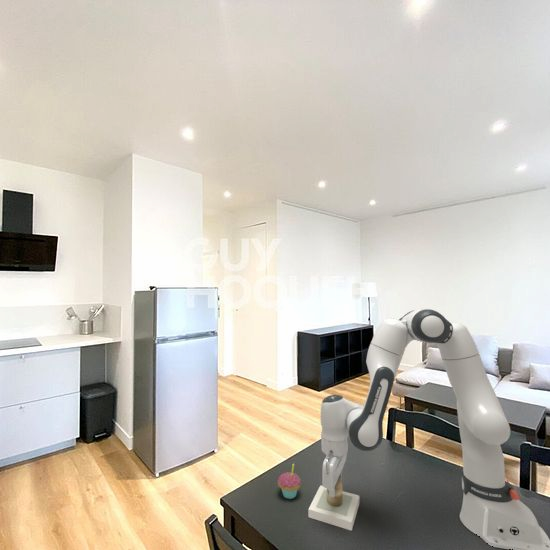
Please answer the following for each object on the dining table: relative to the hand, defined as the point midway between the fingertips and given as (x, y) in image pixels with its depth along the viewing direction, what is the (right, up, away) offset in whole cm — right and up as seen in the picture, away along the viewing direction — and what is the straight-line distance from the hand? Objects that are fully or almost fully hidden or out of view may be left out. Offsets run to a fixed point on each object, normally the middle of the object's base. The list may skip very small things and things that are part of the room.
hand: (335, 487), depth 103 cm
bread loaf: (0, -5, 0) cm, 5 cm away
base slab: (0, -7, 0) cm, 7 cm away
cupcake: (-15, -8, +8) cm, 19 cm away
